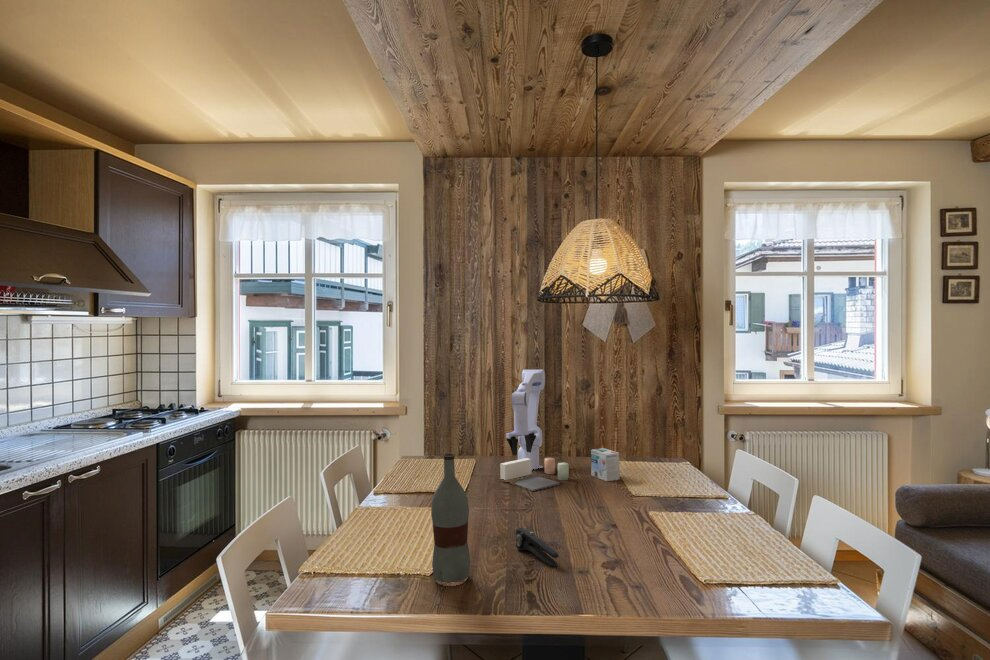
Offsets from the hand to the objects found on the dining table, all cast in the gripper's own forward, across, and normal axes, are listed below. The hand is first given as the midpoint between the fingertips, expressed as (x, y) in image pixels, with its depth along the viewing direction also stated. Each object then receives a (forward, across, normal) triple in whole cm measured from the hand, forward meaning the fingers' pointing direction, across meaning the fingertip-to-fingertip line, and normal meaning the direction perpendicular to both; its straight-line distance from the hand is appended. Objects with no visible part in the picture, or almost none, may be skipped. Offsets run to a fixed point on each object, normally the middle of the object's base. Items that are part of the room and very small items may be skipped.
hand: (521, 453), depth 215 cm
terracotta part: (+10, +13, -3) cm, 16 cm away
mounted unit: (+10, -3, 0) cm, 10 cm away
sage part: (+10, +11, -13) cm, 19 cm away
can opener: (+10, -45, -62) cm, 77 cm away
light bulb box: (+10, +25, -23) cm, 35 cm away
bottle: (+10, -70, -59) cm, 92 cm away
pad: (+10, -3, -11) cm, 15 cm away
